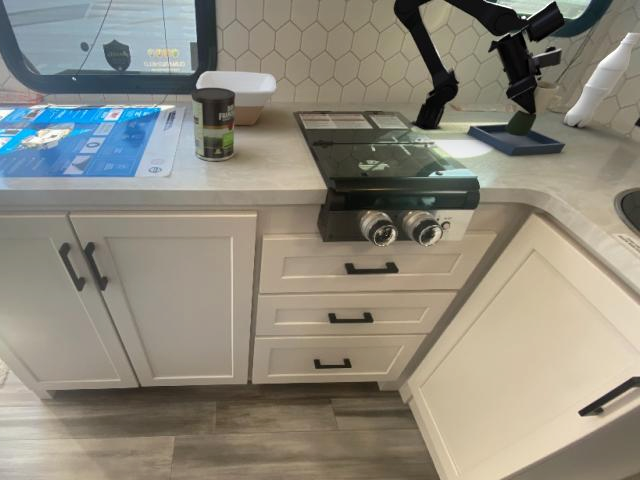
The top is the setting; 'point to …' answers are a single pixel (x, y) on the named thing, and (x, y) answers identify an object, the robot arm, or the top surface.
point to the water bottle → (601, 82)
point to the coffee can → (213, 123)
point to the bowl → (242, 91)
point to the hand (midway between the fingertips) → (535, 110)
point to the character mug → (543, 97)
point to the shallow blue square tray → (515, 140)
